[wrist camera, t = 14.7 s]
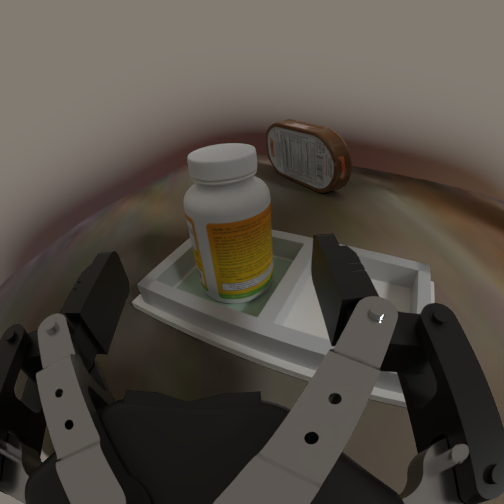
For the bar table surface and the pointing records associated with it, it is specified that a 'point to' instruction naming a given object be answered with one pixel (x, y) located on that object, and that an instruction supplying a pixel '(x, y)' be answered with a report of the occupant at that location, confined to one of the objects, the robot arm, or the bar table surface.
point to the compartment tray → (278, 308)
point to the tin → (309, 155)
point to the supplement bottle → (229, 223)
